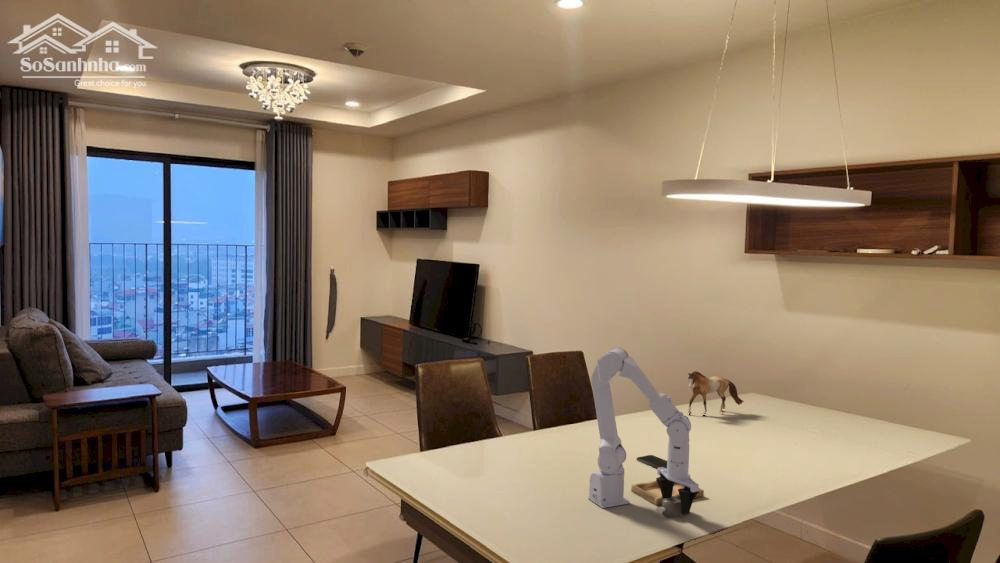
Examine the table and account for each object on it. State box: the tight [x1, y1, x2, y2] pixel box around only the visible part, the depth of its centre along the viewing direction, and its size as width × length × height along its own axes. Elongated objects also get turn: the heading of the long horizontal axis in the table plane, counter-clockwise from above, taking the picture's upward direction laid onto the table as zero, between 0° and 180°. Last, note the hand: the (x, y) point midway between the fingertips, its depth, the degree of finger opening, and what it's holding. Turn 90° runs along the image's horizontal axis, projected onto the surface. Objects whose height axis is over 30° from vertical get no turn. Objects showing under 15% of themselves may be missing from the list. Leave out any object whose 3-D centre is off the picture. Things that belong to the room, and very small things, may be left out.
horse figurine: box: [687, 370, 745, 415], centre depth 284 cm, size 31×8×21 cm, turn 112°
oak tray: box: [631, 480, 705, 507], centre depth 187 cm, size 18×12×2 cm, turn 115°
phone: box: [636, 454, 667, 470], centre depth 213 cm, size 8×1×15 cm
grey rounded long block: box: [655, 496, 691, 519], centre depth 173 cm, size 11×4×4 cm, turn 115°
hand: (676, 508), depth 173 cm, fingers open, 7 cm apart
